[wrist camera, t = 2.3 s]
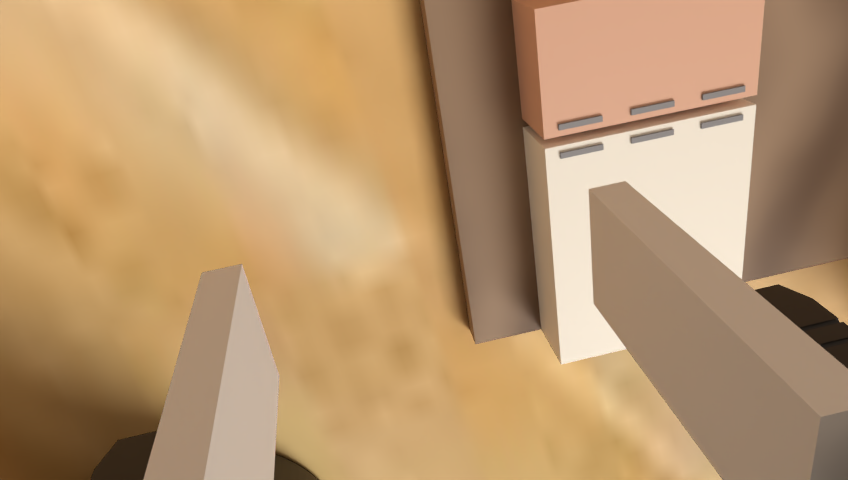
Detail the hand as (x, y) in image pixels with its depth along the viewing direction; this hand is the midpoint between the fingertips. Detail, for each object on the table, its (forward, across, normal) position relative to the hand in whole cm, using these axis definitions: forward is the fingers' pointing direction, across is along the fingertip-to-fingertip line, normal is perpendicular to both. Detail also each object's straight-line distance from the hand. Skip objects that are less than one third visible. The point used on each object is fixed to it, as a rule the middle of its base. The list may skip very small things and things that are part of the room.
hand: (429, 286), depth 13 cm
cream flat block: (+16, +11, -8) cm, 21 cm away
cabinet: (+16, +11, 0) cm, 19 cm away
